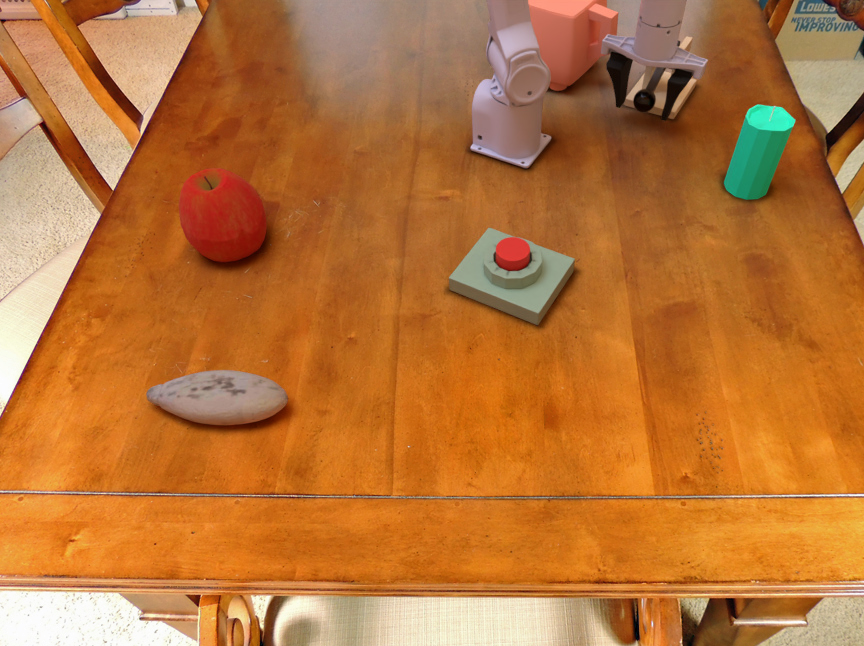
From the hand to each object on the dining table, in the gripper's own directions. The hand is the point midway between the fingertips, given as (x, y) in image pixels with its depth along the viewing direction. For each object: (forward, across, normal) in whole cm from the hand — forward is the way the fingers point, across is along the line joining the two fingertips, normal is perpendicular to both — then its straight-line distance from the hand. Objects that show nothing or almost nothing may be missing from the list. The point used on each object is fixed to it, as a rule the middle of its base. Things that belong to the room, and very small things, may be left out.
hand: (642, 110), depth 100 cm
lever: (-2, 0, -5) cm, 5 cm away
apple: (+2, +37, +48) cm, 61 cm away
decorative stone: (+2, +21, +69) cm, 72 cm away
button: (-1, +2, +37) cm, 38 cm away
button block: (+2, +2, +38) cm, 38 cm away
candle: (+2, -18, +6) cm, 19 cm away
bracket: (+2, 0, -8) cm, 9 cm away
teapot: (+2, +19, -8) cm, 21 cm away
